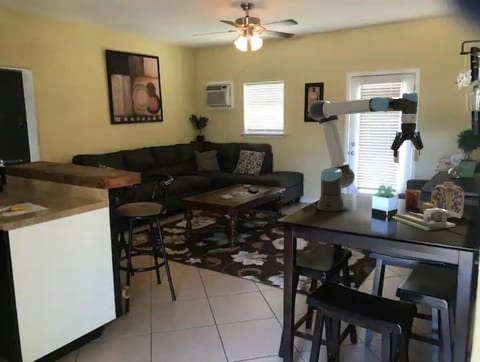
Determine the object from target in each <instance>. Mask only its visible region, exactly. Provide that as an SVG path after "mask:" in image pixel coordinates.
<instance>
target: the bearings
mask: <svg viewBox="0 0 480 362" xmlns="http://www.w3.org/2000/svg"><path fill="white" fill-rule="evenodd" d="M438 215H439V216H438ZM430 218H433V219H439V220H442V221H445V222H448V221H447V220H448V218H447V215H446V214H439V212H437V213H431V216H430Z"/></svg>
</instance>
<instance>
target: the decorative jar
mask: <svg viewBox="0 0 480 362" xmlns="http://www.w3.org/2000/svg"><path fill="white" fill-rule="evenodd" d="M430 204H434V205H436V208H440V209H444V210H447V211H451V212H455V213H459V214H461V215H462V216H463V214H464V208H465V207H464V205H465V190H464V189H463V188H462V187H461V186H459V185H456V184H454V182H453V181H444V182H443V184H442V183H441V184H437V185H435V186H434V188H432V189H431V195H430ZM439 214H443V213H439ZM438 217H439V215H438ZM449 218H455V217H454V216H450V215H447V219H449Z"/></svg>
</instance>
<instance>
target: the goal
mask: <svg viewBox="0 0 480 362" xmlns="http://www.w3.org/2000/svg"><path fill="white" fill-rule="evenodd" d="M438 219H439V218H438ZM438 219H435V220H434V222H435V223H428V222H424V221H420V225H423V226H426V227H429V228H430V230H429V231H432V230H434V231H435V230H441V229H447V228H446V227H445V228H444V226H446V222H447V221H446V222H445V221H442V220H438Z"/></svg>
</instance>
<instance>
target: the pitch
mask: <svg viewBox="0 0 480 362" xmlns="http://www.w3.org/2000/svg"><path fill="white" fill-rule="evenodd" d="M423 216H424V213H423V214H422V213H418V212H417V213H415V212H412V211H408V214H399V213H396V212H395V215H394V216H391V219H392V218H393V219H392V220H394V219H395V221H397V222H400V223H403V224H406V225H408V226H411V225H412V227H415V228H417V229H421V230H423V231H431V230H430V228H429V227H426V226H423V225H420V221H423ZM434 220H435V219H433V218H430V221H434ZM438 220H439V218H438ZM445 227H446V228H445ZM454 227H456V223H453V222H449V221H446V226H444V228H443V229H448V228H454Z"/></svg>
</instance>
